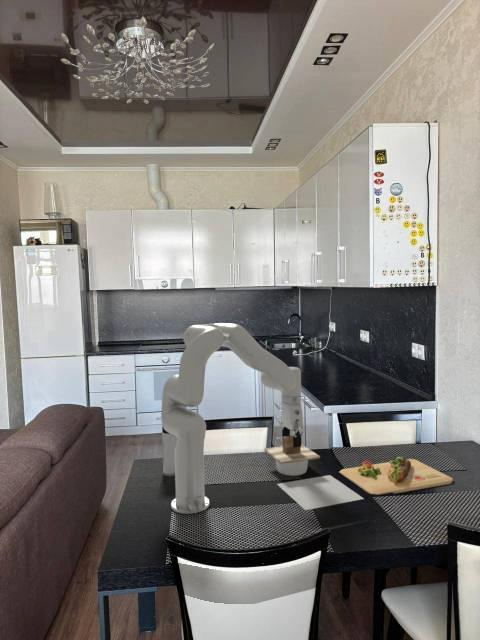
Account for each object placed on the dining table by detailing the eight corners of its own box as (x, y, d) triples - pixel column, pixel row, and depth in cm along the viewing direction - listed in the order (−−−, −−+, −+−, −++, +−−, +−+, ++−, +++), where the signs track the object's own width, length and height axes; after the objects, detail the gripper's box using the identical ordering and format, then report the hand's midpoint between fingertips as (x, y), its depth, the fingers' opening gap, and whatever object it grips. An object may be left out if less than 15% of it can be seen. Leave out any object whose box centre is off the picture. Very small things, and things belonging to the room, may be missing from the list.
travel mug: (181, 470, 189) (180, 420, 188) (177, 476, 183) (176, 425, 181) (165, 470, 190) (164, 420, 188) (161, 476, 183) (160, 425, 182)
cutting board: (372, 499, 162) (372, 477, 162) (337, 474, 184) (337, 455, 184) (455, 484, 173) (456, 464, 173) (413, 462, 195) (413, 444, 195)
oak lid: (319, 458, 181) (319, 440, 180) (281, 464, 175) (280, 445, 175) (300, 445, 196) (300, 429, 195) (264, 450, 191) (264, 433, 190)
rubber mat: (364, 500, 160) (364, 498, 160) (305, 511, 152) (305, 510, 152) (330, 476, 181) (330, 475, 180) (276, 485, 173) (276, 484, 173)
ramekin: (307, 479, 178) (307, 461, 178) (272, 477, 181) (272, 459, 181) (309, 466, 191) (309, 449, 191) (277, 464, 194) (276, 447, 194)
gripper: (310, 403, 177) (310, 448, 179) (290, 394, 194) (290, 435, 195) (292, 405, 175) (292, 451, 176) (273, 395, 191) (273, 437, 192)
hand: (291, 442), depth 185 cm, fingers open, 9 cm apart
